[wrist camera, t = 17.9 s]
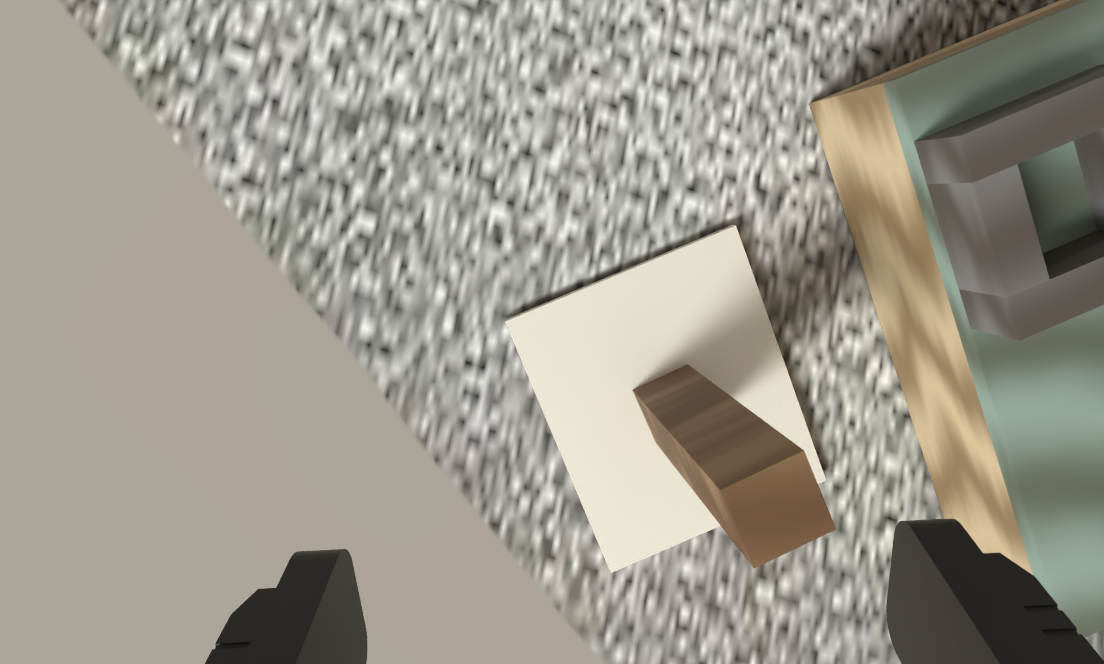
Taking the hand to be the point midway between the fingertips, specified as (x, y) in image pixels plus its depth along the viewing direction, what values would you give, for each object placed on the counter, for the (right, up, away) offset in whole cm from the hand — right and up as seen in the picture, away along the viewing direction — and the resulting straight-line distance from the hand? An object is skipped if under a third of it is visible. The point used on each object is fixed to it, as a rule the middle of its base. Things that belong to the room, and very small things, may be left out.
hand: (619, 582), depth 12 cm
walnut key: (+5, 0, +28) cm, 29 cm away
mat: (+5, 0, +29) cm, 29 cm away
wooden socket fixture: (+23, +6, +30) cm, 38 cm away
